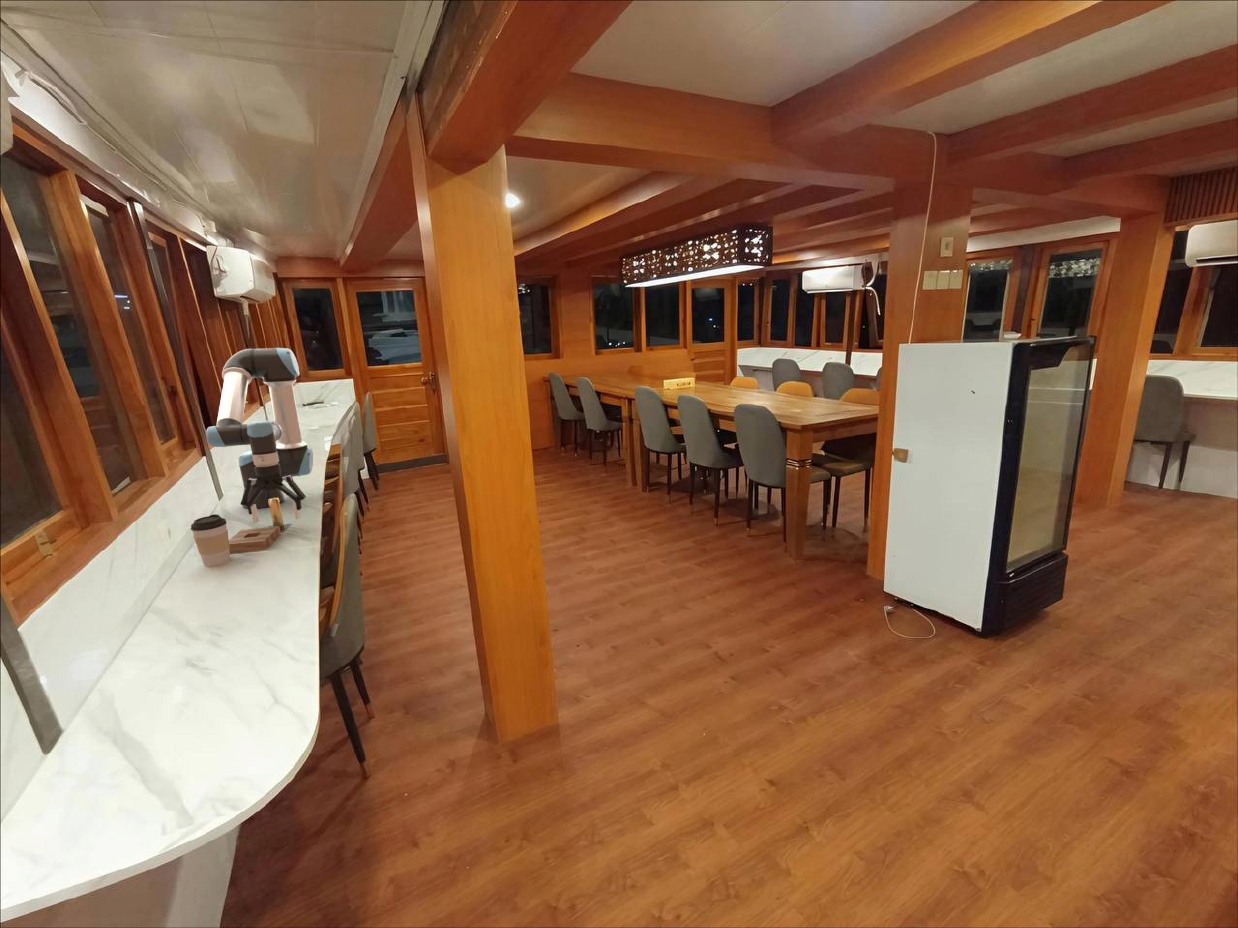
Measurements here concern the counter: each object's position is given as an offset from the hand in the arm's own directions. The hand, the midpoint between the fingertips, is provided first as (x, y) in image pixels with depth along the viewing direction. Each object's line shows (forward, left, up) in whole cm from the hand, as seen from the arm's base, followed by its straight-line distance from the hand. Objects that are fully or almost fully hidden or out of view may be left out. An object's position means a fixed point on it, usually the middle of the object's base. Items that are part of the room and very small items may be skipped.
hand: (277, 520), depth 193 cm
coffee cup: (+25, -10, -4) cm, 27 cm away
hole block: (+12, -4, -4) cm, 13 cm away
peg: (0, 0, -4) cm, 4 cm away
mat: (-1, -2, -4) cm, 5 cm away
